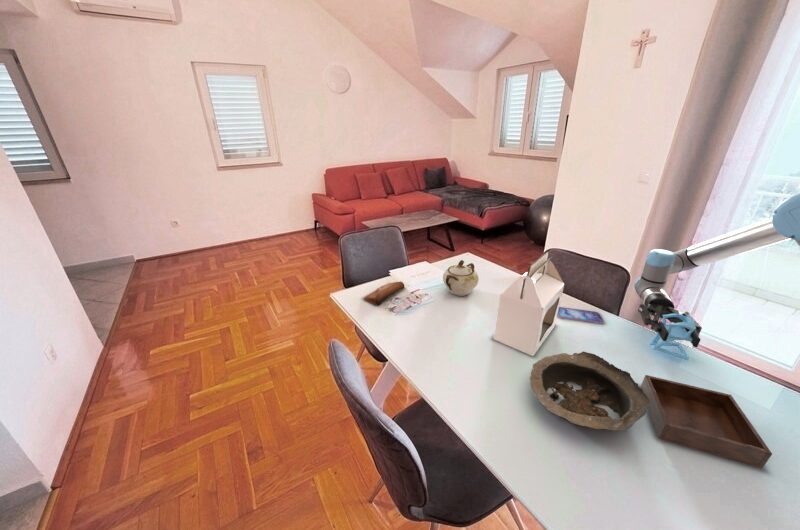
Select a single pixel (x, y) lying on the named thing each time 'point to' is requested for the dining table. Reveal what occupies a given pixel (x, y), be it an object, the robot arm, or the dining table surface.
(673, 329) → the chair
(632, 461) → the dining table surface
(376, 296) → the sunglasses case
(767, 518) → the dining table surface
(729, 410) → the wooden tray
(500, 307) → the gable box
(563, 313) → the smartphone
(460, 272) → the sugar bowl
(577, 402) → the stone bowl
